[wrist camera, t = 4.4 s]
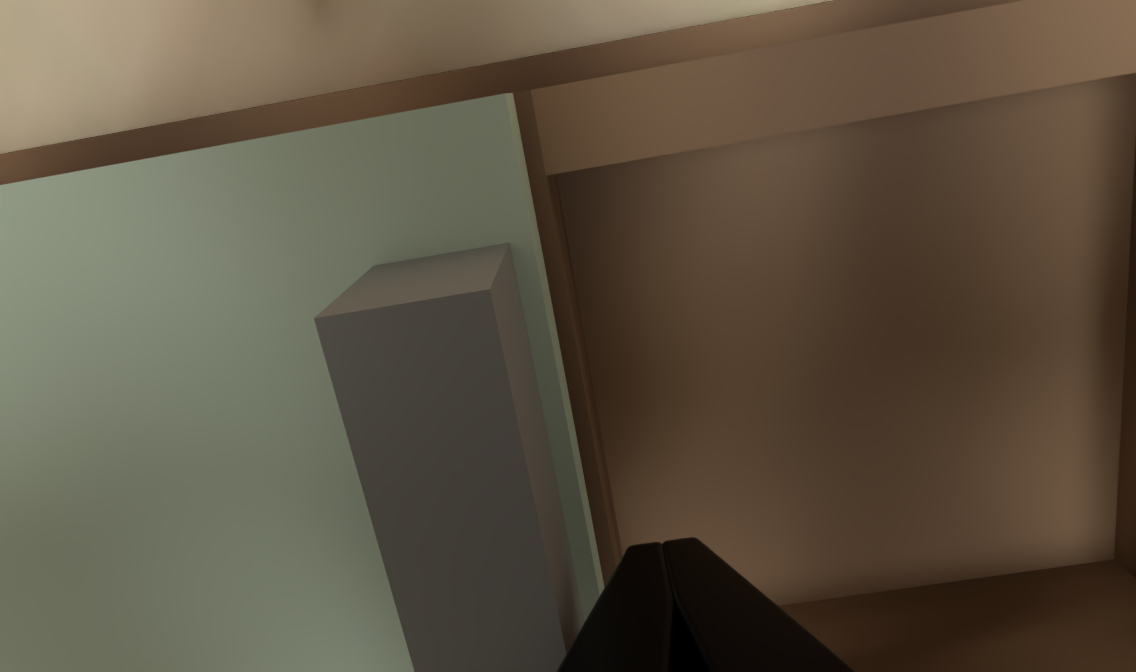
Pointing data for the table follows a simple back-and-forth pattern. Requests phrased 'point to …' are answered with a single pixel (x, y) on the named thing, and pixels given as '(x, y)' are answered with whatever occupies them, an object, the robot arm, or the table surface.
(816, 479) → the wooden box
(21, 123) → the table surface
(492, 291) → the slide cover
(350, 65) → the table surface
